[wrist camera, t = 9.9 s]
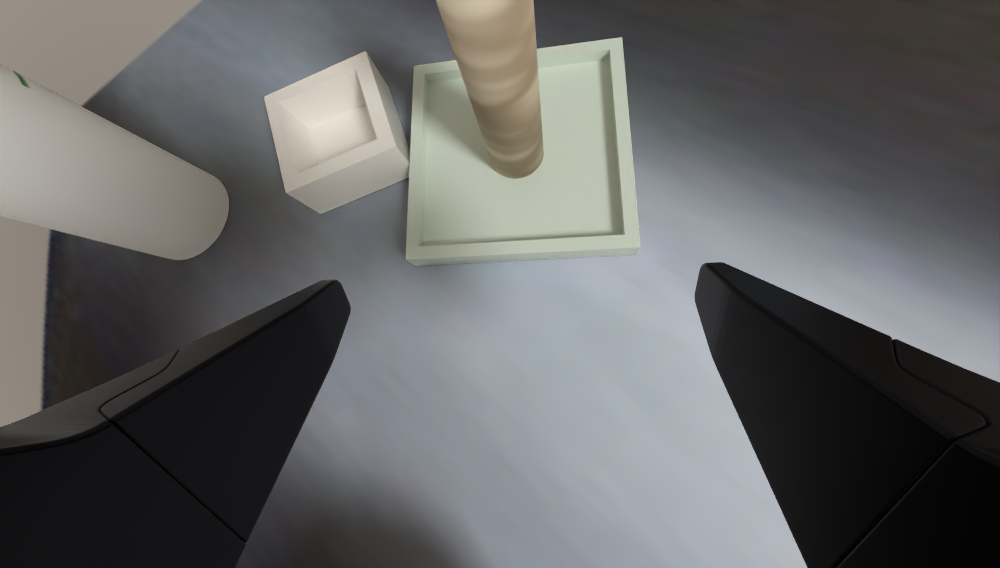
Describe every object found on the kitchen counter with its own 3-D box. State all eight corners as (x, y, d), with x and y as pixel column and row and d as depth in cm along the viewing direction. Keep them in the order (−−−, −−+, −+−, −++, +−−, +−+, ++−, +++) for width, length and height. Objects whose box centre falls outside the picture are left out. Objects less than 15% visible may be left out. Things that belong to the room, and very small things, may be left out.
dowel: (511, 189, 24) (449, -40, 10) (479, 152, 24) (382, -105, 11) (554, 155, 24) (550, -120, 10) (521, 119, 24) (475, -178, 11)
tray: (635, 254, 22) (640, 247, 21) (415, 265, 24) (405, 259, 23) (618, 57, 25) (622, 37, 24) (422, 82, 27) (413, 65, 26)
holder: (417, 173, 26) (396, 146, 22) (320, 214, 26) (285, 193, 23) (389, 88, 28) (365, 50, 24) (299, 128, 28) (263, 96, 25)
